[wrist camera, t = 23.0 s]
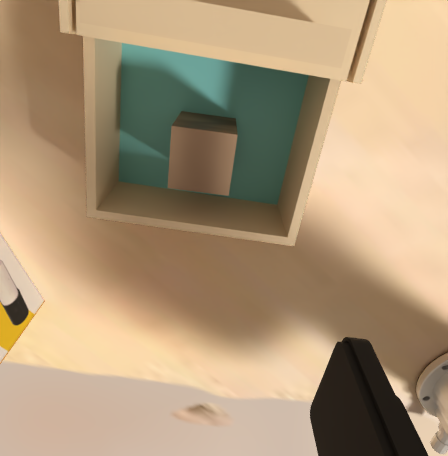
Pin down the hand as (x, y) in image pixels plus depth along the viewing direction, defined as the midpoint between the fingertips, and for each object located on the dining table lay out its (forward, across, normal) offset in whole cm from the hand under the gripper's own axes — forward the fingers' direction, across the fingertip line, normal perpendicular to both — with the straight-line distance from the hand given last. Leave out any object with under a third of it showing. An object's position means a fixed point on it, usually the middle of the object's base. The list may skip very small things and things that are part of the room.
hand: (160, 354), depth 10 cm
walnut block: (+24, 0, 0) cm, 24 cm away
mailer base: (+24, 0, -6) cm, 25 cm away
